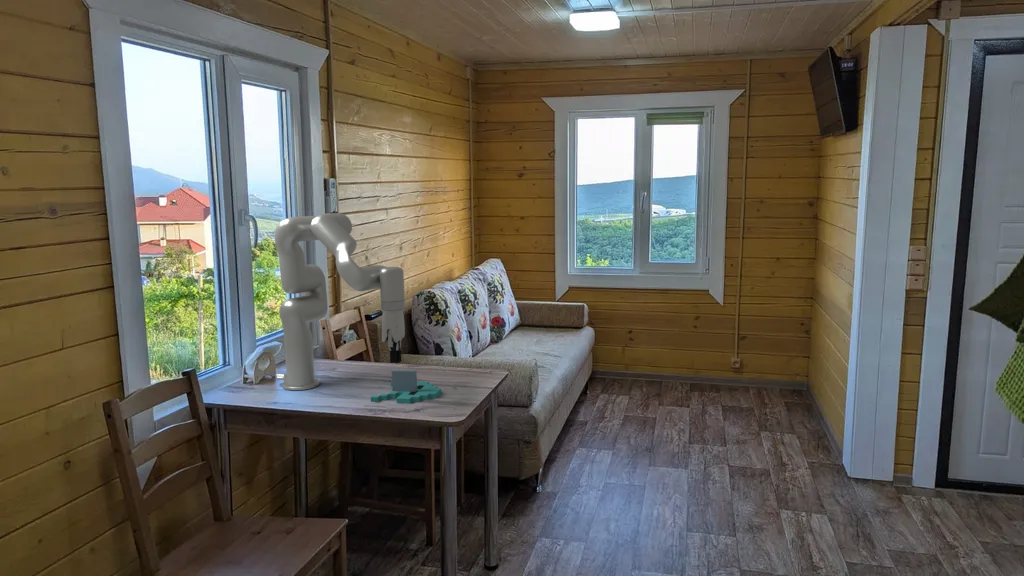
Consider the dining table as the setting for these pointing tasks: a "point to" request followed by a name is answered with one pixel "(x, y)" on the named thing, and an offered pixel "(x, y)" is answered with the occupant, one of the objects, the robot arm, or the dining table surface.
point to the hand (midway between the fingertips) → (395, 362)
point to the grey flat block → (404, 380)
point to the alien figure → (411, 394)
